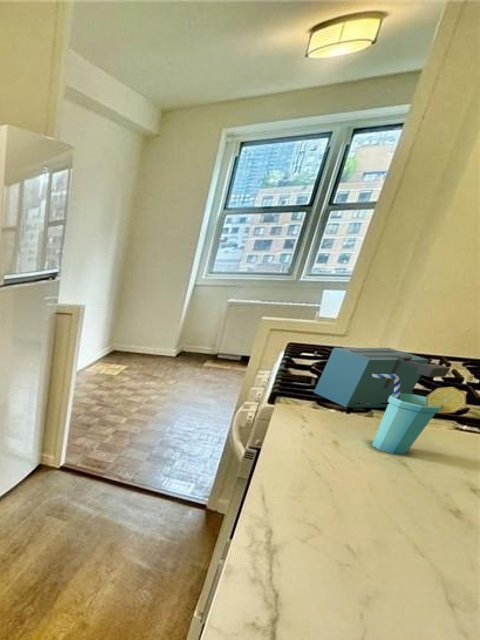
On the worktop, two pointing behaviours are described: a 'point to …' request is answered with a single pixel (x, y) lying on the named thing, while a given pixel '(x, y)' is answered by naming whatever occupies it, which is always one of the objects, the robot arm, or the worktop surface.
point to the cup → (412, 415)
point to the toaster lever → (427, 368)
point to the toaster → (366, 376)
